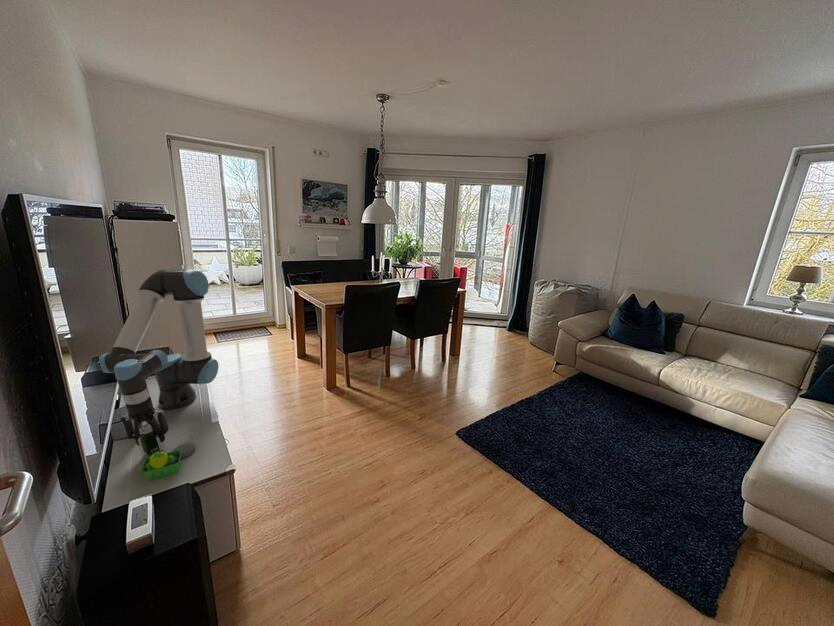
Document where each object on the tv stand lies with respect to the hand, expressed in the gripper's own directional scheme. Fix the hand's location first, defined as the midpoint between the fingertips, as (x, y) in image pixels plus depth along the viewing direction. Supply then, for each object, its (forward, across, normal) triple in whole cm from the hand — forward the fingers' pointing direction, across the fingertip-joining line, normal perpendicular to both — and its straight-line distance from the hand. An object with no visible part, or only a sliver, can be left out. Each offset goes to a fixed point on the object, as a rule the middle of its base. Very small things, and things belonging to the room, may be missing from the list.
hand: (153, 449), depth 137 cm
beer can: (+1, 0, 0) cm, 1 cm away
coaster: (+1, +11, -3) cm, 11 cm away
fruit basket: (+2, +8, -13) cm, 15 cm away
